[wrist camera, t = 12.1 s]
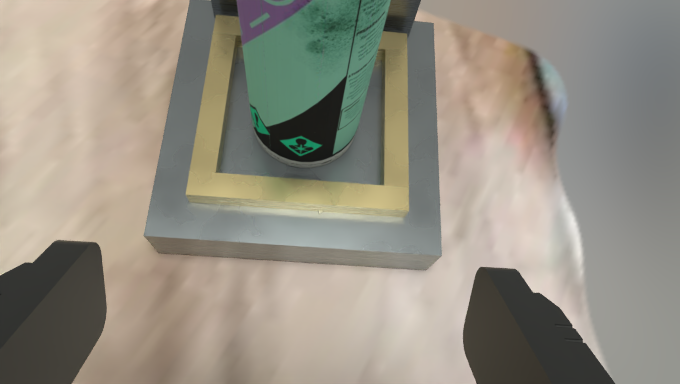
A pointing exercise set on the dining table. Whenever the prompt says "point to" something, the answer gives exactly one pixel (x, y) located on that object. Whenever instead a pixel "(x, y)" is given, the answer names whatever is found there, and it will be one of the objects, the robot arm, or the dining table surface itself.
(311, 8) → the spray can
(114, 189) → the dining table surface
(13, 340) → the robot arm
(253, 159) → the grey and tan frame
